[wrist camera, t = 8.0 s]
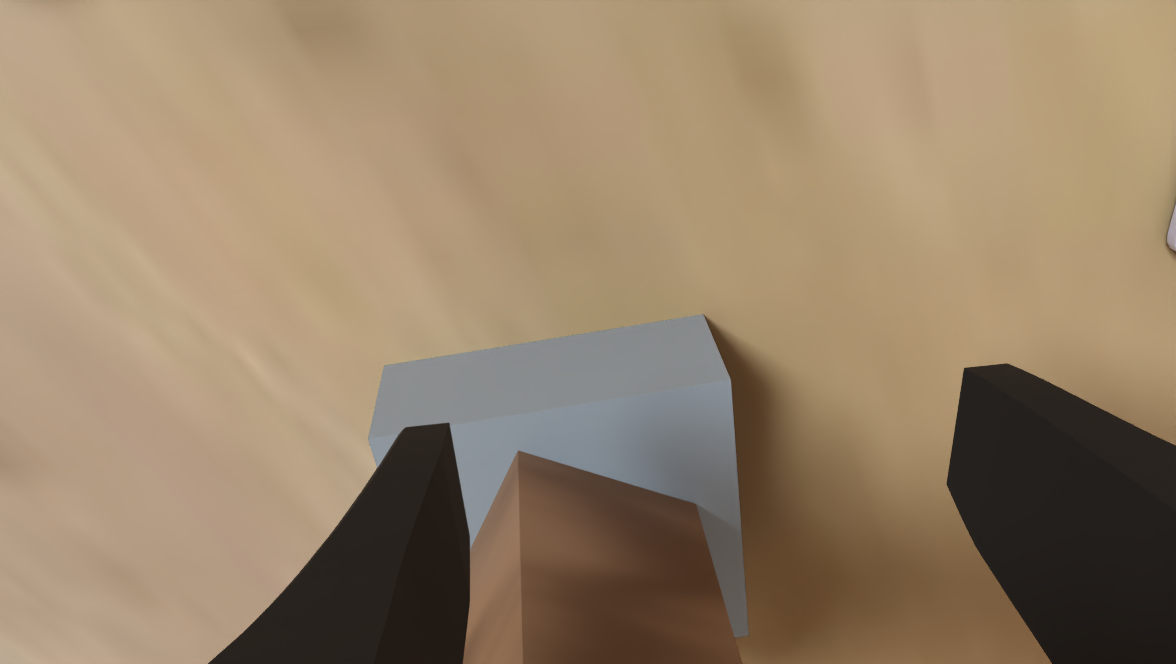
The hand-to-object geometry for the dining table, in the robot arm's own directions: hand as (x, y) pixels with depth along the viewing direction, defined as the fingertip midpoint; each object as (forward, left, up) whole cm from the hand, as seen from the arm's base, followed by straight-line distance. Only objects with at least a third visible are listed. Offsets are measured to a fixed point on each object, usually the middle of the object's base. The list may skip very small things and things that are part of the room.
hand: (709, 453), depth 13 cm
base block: (+2, +7, -10) cm, 12 cm away
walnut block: (+2, +7, -6) cm, 10 cm away
